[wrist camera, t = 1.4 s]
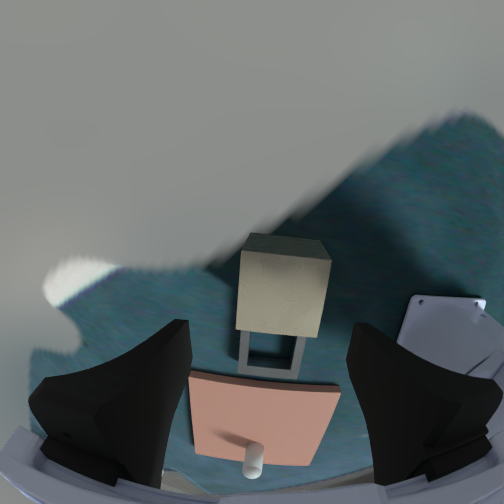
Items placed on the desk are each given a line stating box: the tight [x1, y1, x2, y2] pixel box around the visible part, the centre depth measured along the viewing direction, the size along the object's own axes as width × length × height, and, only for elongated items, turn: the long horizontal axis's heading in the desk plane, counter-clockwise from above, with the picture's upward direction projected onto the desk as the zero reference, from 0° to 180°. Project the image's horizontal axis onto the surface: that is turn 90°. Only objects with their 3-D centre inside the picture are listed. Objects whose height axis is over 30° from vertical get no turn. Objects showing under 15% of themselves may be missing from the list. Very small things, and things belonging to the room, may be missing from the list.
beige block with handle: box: [236, 233, 332, 379], centre depth 19 cm, size 12×5×5 cm, turn 175°
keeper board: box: [189, 370, 341, 479], centre depth 23 cm, size 14×14×6 cm
